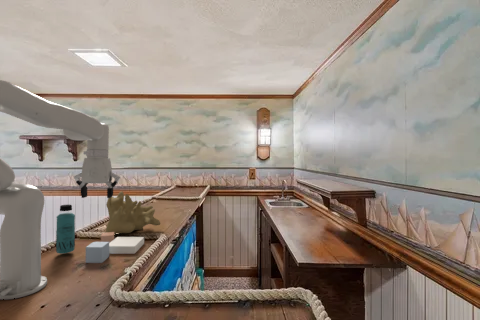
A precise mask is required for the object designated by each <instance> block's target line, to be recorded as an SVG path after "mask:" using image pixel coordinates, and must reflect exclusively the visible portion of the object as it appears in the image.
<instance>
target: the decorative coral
mask: <svg viewBox="0 0 480 320" xmlns="http://www.w3.org/2000/svg"><path fill="white" fill-rule="evenodd" d="M124 200H125V201H124ZM106 207H107V212H108V218H109V220H108V222H107V225H106V228H105V233H107V232H115V234H116V233H121V234H129V233H132V232H134V231H142V230H144V227H145V226H147V225H153V226H160V225H161V221H160V219H157V218H156V217H154V214H155V212H156V209H155V208H153V205H148V206H142V201H140V200H139V201H138V200H135V201H133V200H132V198H131V197H130V195H129V194H127V193H126V194H124V191H122V190H121V191H120V192H118V194H117V195H116V197H113V196H112V197H111V198H107V202H106Z"/></svg>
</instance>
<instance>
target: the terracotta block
mask: <svg viewBox="0 0 480 320" xmlns="http://www.w3.org/2000/svg"><path fill="white" fill-rule="evenodd" d="M114 234H115V232H107V233H106V232H102V233H101V235H100V242H109V243H110V242H111V241H113V240H114V239H115V236H114Z"/></svg>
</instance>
